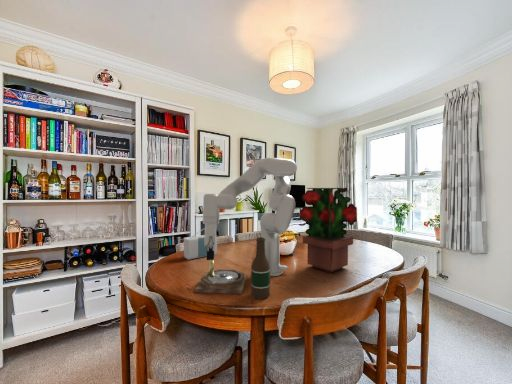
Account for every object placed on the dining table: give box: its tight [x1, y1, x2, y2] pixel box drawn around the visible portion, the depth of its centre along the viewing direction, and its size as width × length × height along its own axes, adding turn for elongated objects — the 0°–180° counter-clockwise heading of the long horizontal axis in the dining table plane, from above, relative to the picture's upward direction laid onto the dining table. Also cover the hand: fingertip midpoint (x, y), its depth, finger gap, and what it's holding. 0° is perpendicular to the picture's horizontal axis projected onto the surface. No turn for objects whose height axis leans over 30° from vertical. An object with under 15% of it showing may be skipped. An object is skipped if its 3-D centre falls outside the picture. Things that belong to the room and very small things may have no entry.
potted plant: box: [299, 187, 358, 274], centre depth 136 cm, size 22×22×45 cm
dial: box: [208, 259, 238, 283], centre depth 113 cm, size 14×14×9 cm
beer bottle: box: [250, 236, 271, 300], centre depth 101 cm, size 8×8×24 cm
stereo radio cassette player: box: [183, 227, 218, 261], centre depth 158 cm, size 21×8×20 cm, turn 130°
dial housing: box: [194, 268, 248, 295], centre depth 113 cm, size 20×20×4 cm
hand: (210, 256), depth 113 cm, fingers open, 9 cm apart
